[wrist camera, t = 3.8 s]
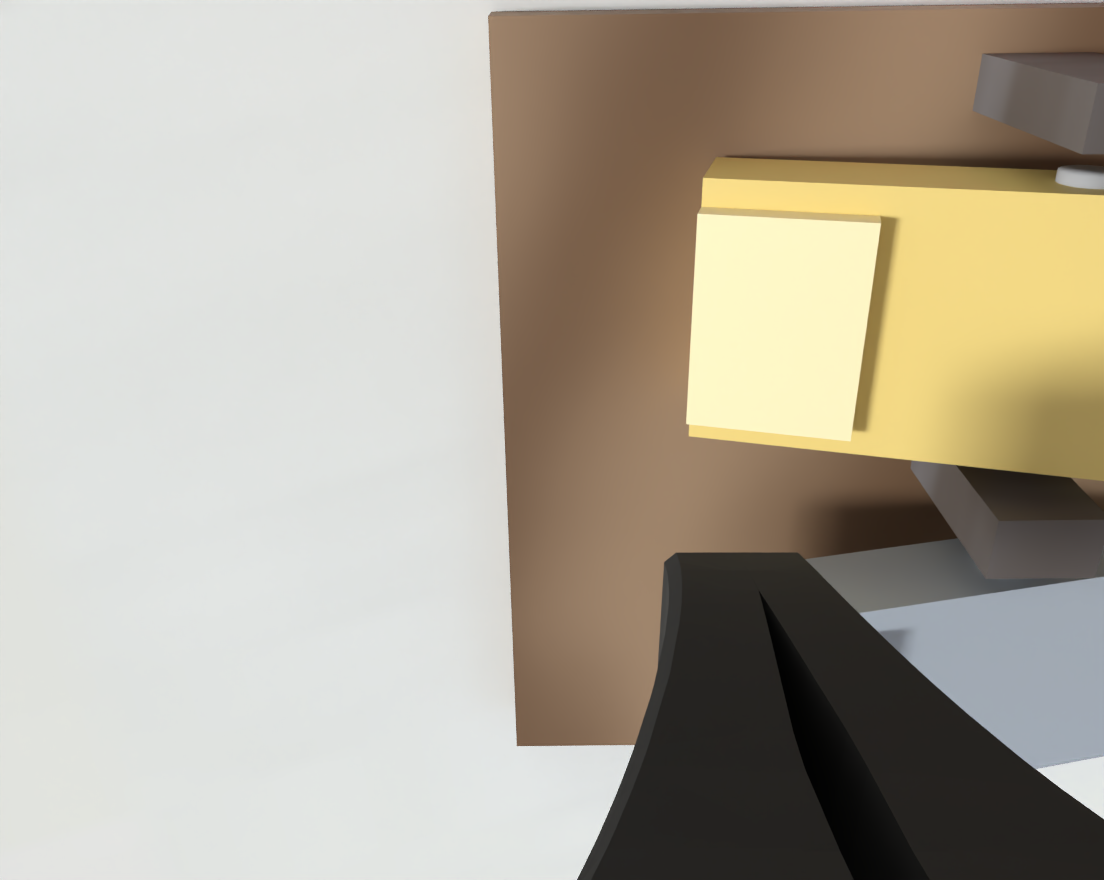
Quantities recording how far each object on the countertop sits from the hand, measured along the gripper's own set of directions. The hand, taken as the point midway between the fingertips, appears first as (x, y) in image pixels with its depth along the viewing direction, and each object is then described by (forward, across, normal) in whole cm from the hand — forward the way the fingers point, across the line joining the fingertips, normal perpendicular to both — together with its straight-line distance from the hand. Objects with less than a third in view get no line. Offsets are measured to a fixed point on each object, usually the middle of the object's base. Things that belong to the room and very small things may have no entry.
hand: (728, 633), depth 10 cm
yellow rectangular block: (+5, -5, -1) cm, 7 cm away
